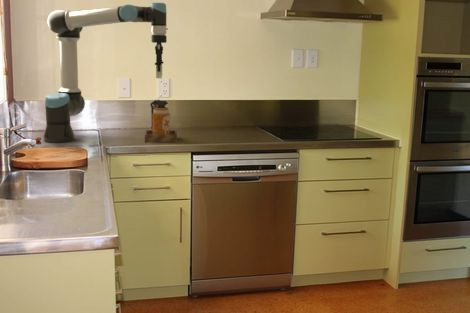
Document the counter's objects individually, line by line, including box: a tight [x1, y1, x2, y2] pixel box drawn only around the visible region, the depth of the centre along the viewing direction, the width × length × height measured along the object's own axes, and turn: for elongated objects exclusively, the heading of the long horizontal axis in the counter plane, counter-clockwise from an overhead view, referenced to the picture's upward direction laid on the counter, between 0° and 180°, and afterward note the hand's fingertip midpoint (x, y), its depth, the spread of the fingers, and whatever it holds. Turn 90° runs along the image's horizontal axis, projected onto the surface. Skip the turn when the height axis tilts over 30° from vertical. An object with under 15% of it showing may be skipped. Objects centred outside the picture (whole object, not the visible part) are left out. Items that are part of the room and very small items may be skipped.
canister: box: [149, 99, 171, 135], centre depth 283 cm, size 9×11×20 cm
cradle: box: [144, 129, 178, 144], centre depth 284 cm, size 16×14×4 cm
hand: (159, 77), depth 278 cm, fingers open, 13 cm apart
